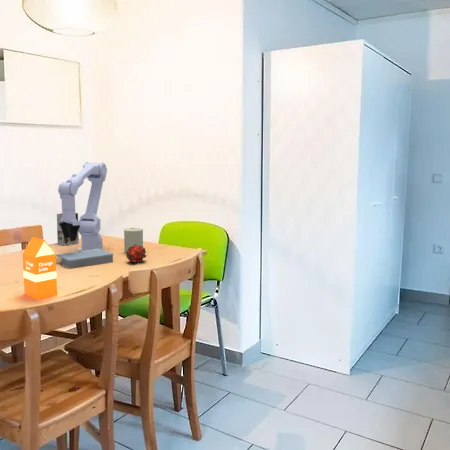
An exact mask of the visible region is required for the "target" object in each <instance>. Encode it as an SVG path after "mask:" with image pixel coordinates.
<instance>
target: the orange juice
mask: <svg viewBox="0 0 450 450" xmlns="http://www.w3.org/2000/svg"><path fill="white" fill-rule="evenodd" d="M21 254H22V269H23V271H22V272H23V273H22V274H23V286H24V287H23V289H24V290H23V291H24V295H26V294H27V295H26V296H28V295H29V296H28V297H30V296H31V297H30V298H32V297H33V298H32V299H35V300H41V299H44V298H49V297H54V296H57V295H58V283H57V280H58V279H57V262H56V261H57V260H56V257H57V256H56V252H54V250H53V249H52V248H51V247H50V245H49V244H48V242H47V241H46V240H45V239H43V238H39V237H36V236H31V239H30V240H29V242H28V244H27V245H26V248H25V249H24V251H23V252H22V253H21Z"/></svg>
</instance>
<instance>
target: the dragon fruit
mask: <svg viewBox="0 0 450 450" xmlns="http://www.w3.org/2000/svg"><path fill="white" fill-rule="evenodd" d="M125 257H126V258H127V260H128V261H129V263H130V264H133V263H132V262H135V263H137V262H138V263H139V262H140V263H142V262H143V261H144V260H143V259H145V258H146V257H147V254H146V248H145V247H144V246H143V247H142V246H141V245H139V246H138V245H136V244H135V245H134V246H131V247H129V249H128V250H127V252H126V254H125Z"/></svg>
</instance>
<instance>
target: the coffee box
mask: <svg viewBox="0 0 450 450" xmlns="http://www.w3.org/2000/svg"><path fill="white" fill-rule="evenodd" d="M75 214H76V220H77V221H78V222H79V213H78V212H75ZM61 217H62V213H56V228H57V229H56V231H57V233H56V234H57V235H56V236H57V238H56V239H57V245H60V246H65V247H66V246H72V245H75V244H79V243H80V241H79V240H80V238H79V236H80V233H79V232H77V236H76V241H71V240H70V236H69V238H64V236H63V232H62V229H61V227H60V225H59V223H62V222H61V221H60V220H61Z"/></svg>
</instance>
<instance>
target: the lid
mask: <svg viewBox="0 0 450 450" xmlns="http://www.w3.org/2000/svg"><path fill="white" fill-rule="evenodd" d="M55 255H56V257H58V258H60V259H61V258H62V259H64V260H66V261H69V262H70V261H77V260H84V259H91V258H98V257H105V256H112V255H113V256H114V253H111V252H109V251H106V250H104V249H103V250H101V249H93V250H86V251H82V247H77V249H76V251H73V252H72V251H71V252H66V253H65V252H64V253H57V254H56V253H55Z"/></svg>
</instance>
